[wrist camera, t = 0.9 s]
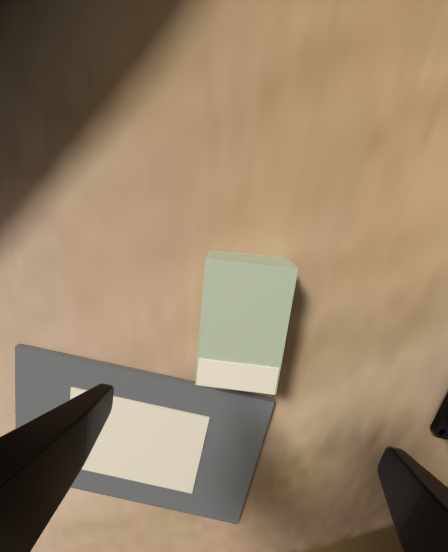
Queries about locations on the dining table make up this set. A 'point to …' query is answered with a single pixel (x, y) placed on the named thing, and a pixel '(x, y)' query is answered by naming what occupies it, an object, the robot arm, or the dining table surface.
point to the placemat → (154, 432)
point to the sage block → (244, 320)
